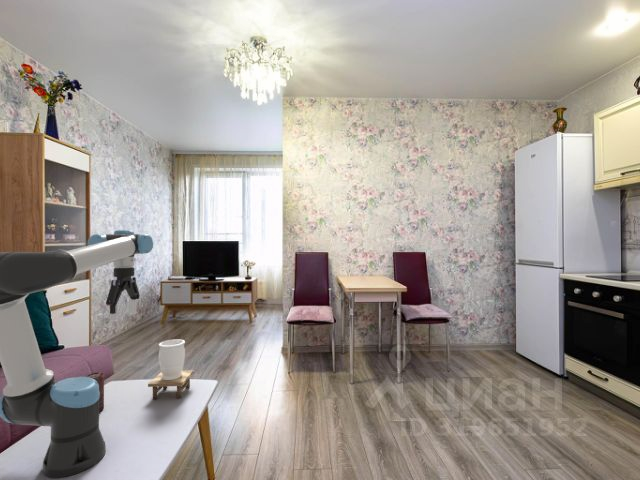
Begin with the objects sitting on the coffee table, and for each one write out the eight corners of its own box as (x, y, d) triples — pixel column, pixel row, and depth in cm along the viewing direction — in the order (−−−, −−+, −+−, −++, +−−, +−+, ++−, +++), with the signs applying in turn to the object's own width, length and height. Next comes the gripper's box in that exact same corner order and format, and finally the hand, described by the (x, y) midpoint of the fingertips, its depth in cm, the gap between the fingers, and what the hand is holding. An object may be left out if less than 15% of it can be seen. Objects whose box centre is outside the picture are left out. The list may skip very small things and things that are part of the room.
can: (108, 407, 130) (108, 371, 130) (95, 415, 124) (95, 378, 124) (94, 406, 131) (94, 371, 131) (80, 414, 124) (81, 377, 124)
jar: (176, 370, 150) (176, 337, 150) (189, 375, 144) (189, 341, 144) (153, 378, 141) (153, 343, 141) (166, 384, 135) (166, 347, 135)
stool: (182, 400, 136) (182, 383, 136) (147, 400, 135) (147, 384, 135) (193, 385, 150) (193, 370, 150) (162, 386, 149) (162, 370, 149)
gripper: (115, 269, 124) (114, 324, 124) (148, 265, 149) (147, 311, 149) (95, 269, 124) (94, 325, 124) (131, 265, 149) (131, 311, 149)
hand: (123, 317), depth 136 cm, fingers open, 13 cm apart
